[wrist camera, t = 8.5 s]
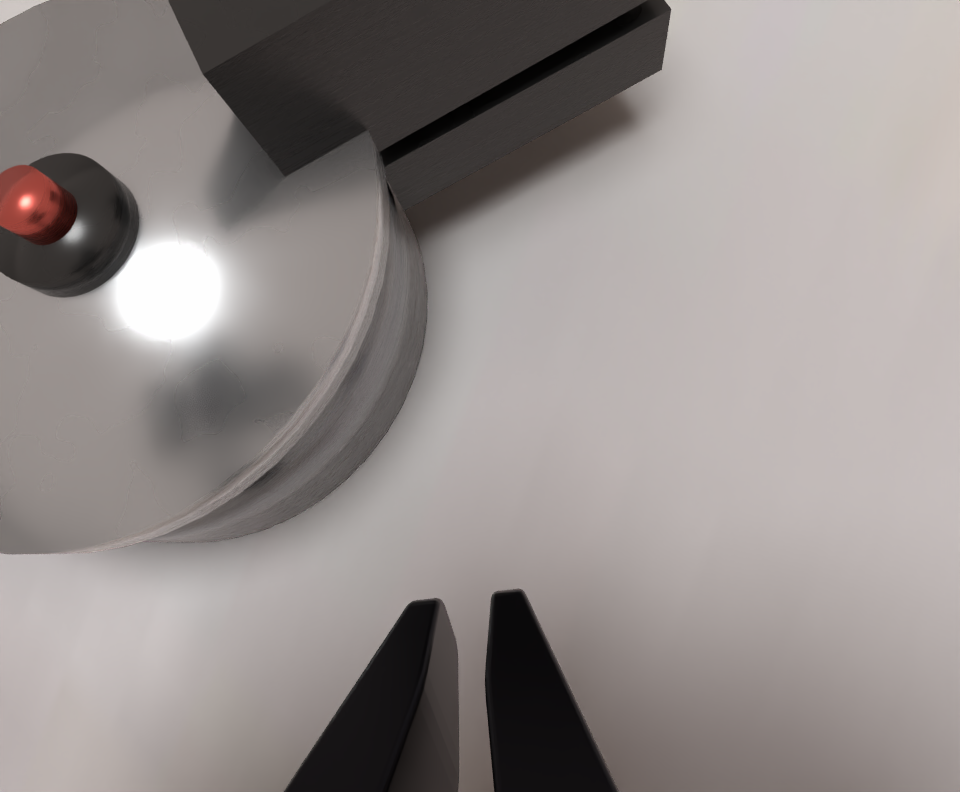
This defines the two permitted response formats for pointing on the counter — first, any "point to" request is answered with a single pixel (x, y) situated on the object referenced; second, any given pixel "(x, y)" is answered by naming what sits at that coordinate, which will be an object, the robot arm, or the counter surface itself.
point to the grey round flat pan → (403, 297)
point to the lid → (206, 232)
